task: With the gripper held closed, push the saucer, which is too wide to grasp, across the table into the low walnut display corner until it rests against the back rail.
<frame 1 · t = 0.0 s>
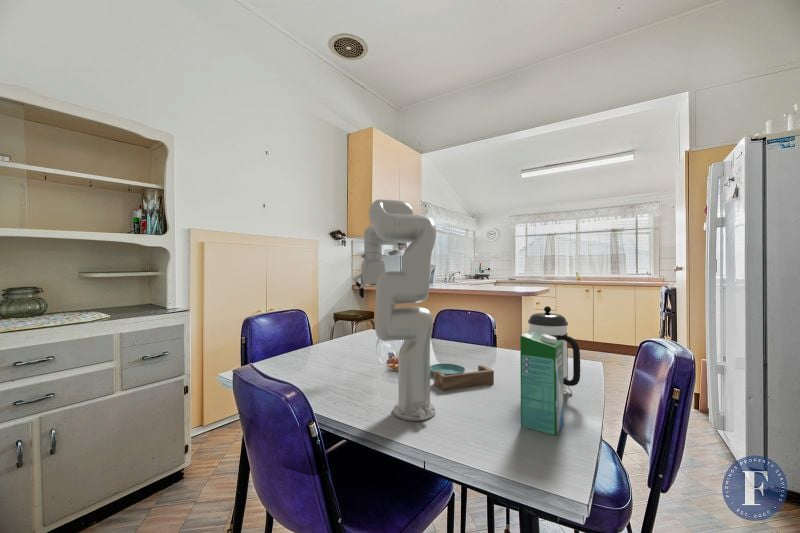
hand: (373, 297, 142), 31 cm above the table, tool pointing down, fingers open, 9 cm apart
coffee press: (551, 393, 115), on the table
milk carton: (542, 425, 91), on the table
display corner: (457, 379, 129), on the table
saucer: (447, 375, 136), on the table
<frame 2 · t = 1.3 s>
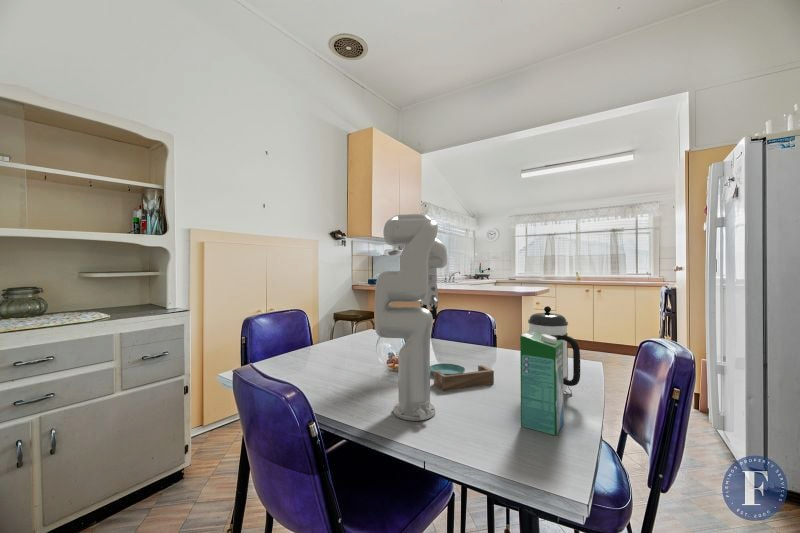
hand: (428, 317, 148), 21 cm above the table, tool pointing down, fingers open, 9 cm apart
nothing on the table moved.
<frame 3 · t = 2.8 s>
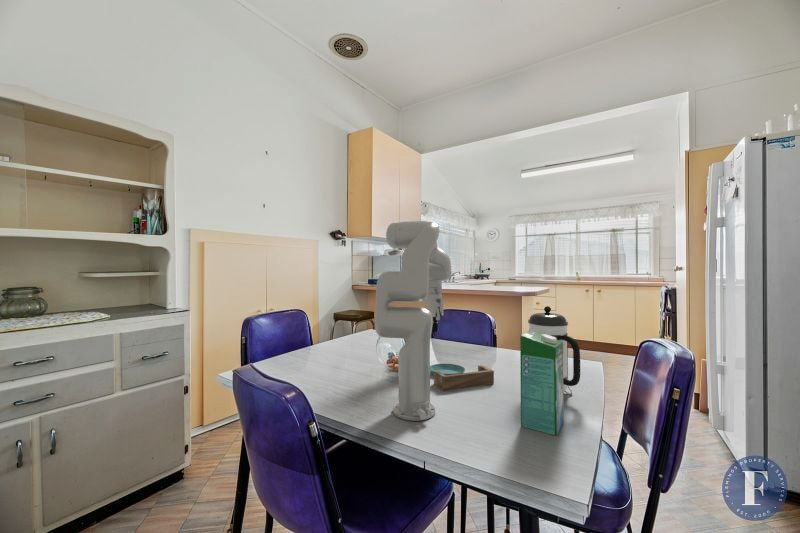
hand: (433, 331, 149), 15 cm above the table, tool pointing down, fingers closed
nothing on the table moved.
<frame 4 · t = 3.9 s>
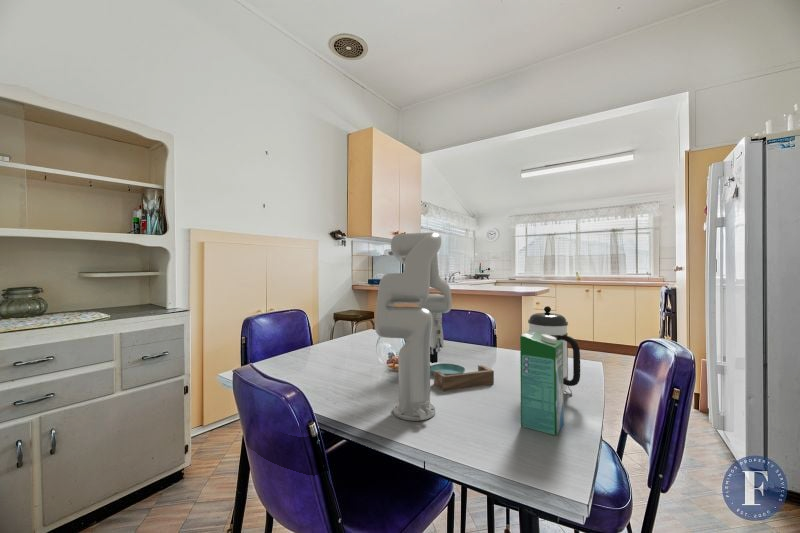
hand: (433, 362, 148), 1 cm above the table, tool pointing down, fingers closed
nothing on the table moved.
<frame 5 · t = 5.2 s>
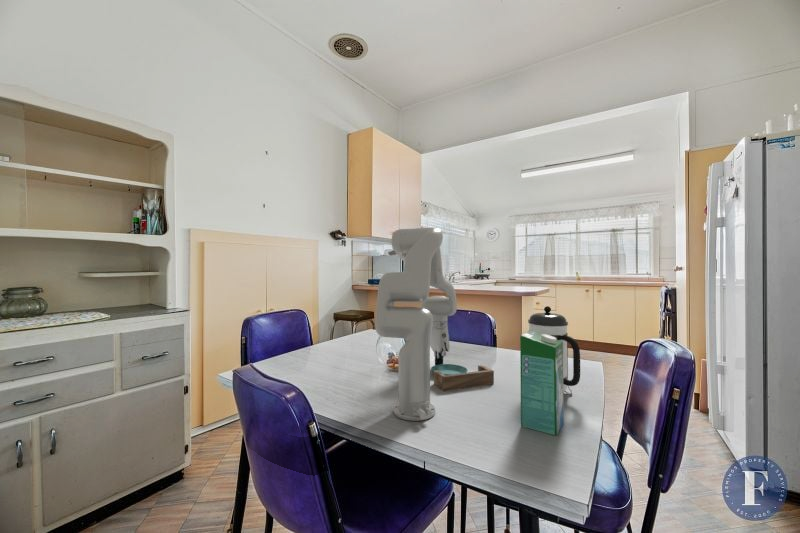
hand: (439, 366, 143), 1 cm above the table, tool pointing down, fingers closed
saucer: (449, 375, 135), on the table, touching gripper
everything else where it was.
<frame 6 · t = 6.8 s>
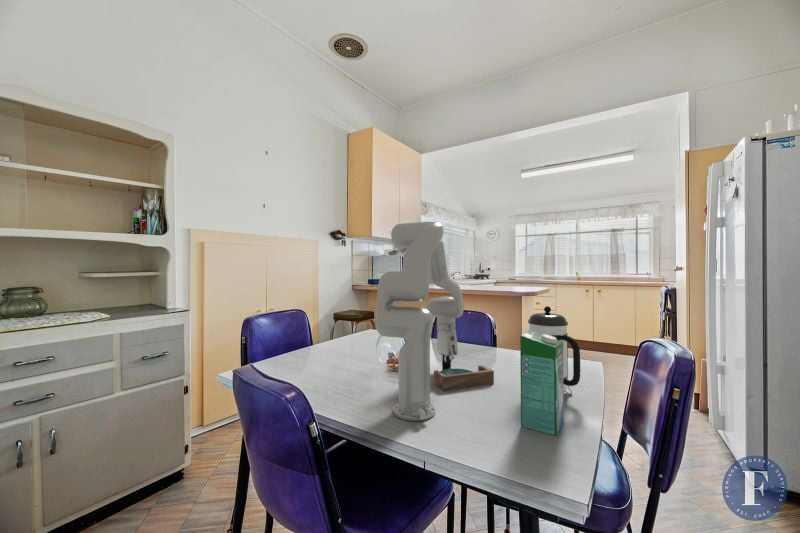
hand: (446, 370, 137), 1 cm above the table, tool pointing down, fingers closed
saucer: (458, 381, 129), on the table, touching gripper
everything else where it was.
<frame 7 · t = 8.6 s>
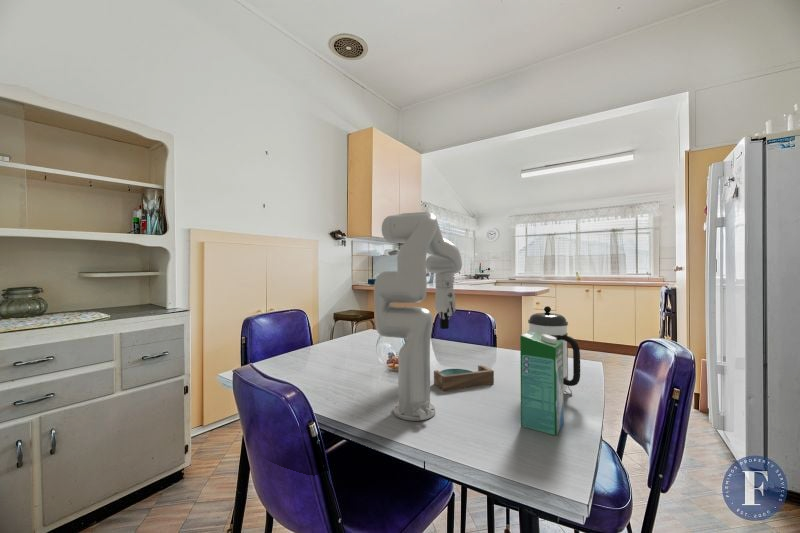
hand: (444, 328, 140), 18 cm above the table, tool pointing down, fingers closed
saucer: (458, 381, 129), on the table
everything else where it was.
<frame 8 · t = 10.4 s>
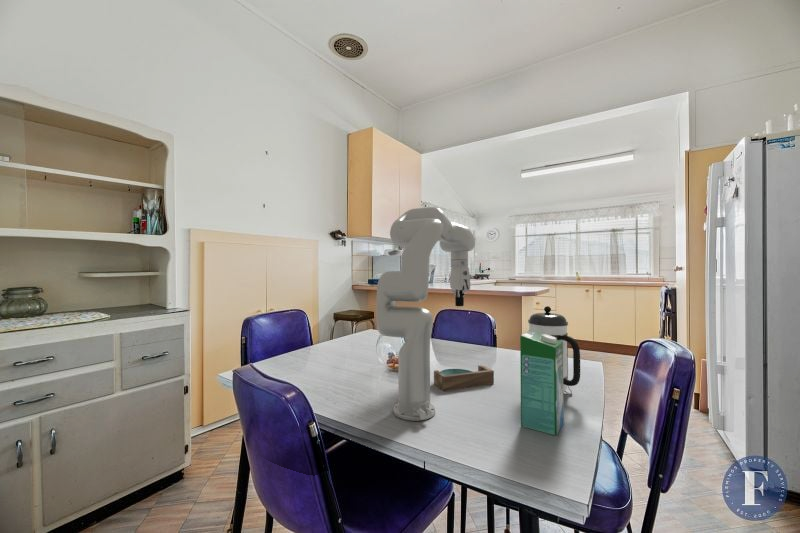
hand: (459, 306, 144), 27 cm above the table, tool pointing down, fingers closed
nothing on the table moved.
at the end: saucer inside the target area on the display corner (0.5 cm from its centre), point -0.5 cm above the display corner's base; saucer tilted 0° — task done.
